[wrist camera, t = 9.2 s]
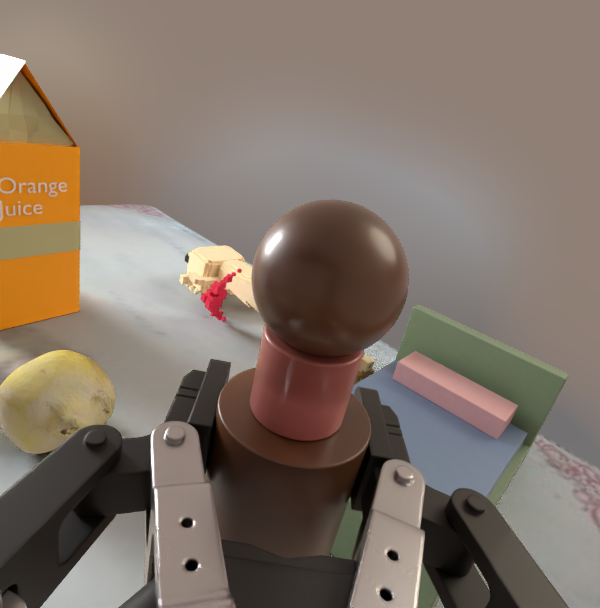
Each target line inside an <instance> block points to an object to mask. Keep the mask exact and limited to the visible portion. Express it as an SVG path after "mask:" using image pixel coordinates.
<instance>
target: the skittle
mask: <svg viewBox="0 0 600 608" xmlns="http://www.w3.org/2000/svg"><path fill="white" fill-rule="evenodd" d="M251 280H252V291H253V297H254V300H255V303H256V306H257V309H258V311H259V313H260V315H261V317H262V319H263V321H264V322H265V324H266V325H265V327H264V331H263V336H262V340H261V345H260V350H259V355H258V360H257V365H256V368H252V369H249V370H246V371H243V372H241V373H239V374H237V375H236V376H234V377H233V378H232V379H230V380H229V381H228V382H227V383H226V385H225V386H224V387H223V389H222V390H221V392H220V394H219V398H218V403H217V409H216V416H215V422H214V428H213V434H212V440H211V447H210V453H209V459H208V465H207V470H206V475H205V480H206V482H207V481H210V483H211V486H212V491H213V497H214V502H215V508H216V514H217V520H218V526H219V532H220V538H221V539H222V540H229V541H235V542H241V543H248V544H251V545H254V546H256V547H259V548H261V549H263V550H266V551H268V552H271V553H273V554H276V555H278V556H280V557H283V558H296V557H307V556H317V555H324V556H329V555H330V552H331V550H332V547H333V544H334V541H335V538H336V535H337V533H338V530H339V527H340V524H341V521H342V518H343V515H344V513H345V510H346V507H347V504H348V501H349V498H350V496H351V493H352V490H353V487H354V484H355V481H356V478H357V476H358V473H359V470H360V467H361V464H362V461H363V459H364V456H365V453H366V450H367V447H368V444H369V441H370V438H371V423H370V419H369V416H368V414H367V411H366V410H365V408H364V406H363V405H362V404H361V402H360V401H359V400H358V399H357V398H356V397H355V396H354V395H353V394H352V393H351V392H352V389H353V386H354V383H355V380H356V376H357V373H358V370H359V367H360V364H361V360H362V357H363V354H364V349H366V348H368V347H369V346H371V345H372V344H374V343H375V342H377V341H378V340H380V339H381V338H382V337H383V336H384V335H385V334H386V333H387V332H388V331H389V330H390V329H391V327H392V326H393V325H394V324H395V322H396V320H397V319H398V317H399V315H400V313H401V311H402V309H403V307H404V304H405V301H406V297H407V293H408V285H409V269H408V263H407V259H406V256H405V252H404V249H403V247H402V245H401V243H400V241H399V239H398V237H397V236H396V235H395V233H394V231H393V230H392V229H391V228H390V226H389V225H388V224H387V223H386V222H385V221H384V220H383V219H381V218H380V217H379V216H378V215H376V214H375V213H374V212H372V211H370V210H369V209H367V208H365V207H363V206H360V205H358V204H355V203H352V202H347V201H342V200H319V201H314V202H309V203H306V204H304V205H301V206H298V207H296V208H294V209H292V210H291V211H289V212H287V213H286V214H284V215H283V216H282V217H280V218H279V219H278V220H277V221H276V222H275V223H274V224H273V225H272V226H271V227H270V229H269V230H268V231H267V233H266V234H265V235H264V237H263V239H262V240H261V242H260V244H259V246H258V248H257V251H256V254H255V257H254V261H253V265H252V274H251Z"/></svg>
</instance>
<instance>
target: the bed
mask: <svg viewBox="0 0 600 608" xmlns="http://www.w3.org/2000/svg"><path fill="white" fill-rule="evenodd" d="M568 376H569V374H568V373H565V372H563V371H561V370H559V369H557V368H554V367H553V366H550V365H548V364H546V363H544V362H542V361H540V360H538V359H535V358H533V357H531V356H529V355H527V354H525V353H522V352H520V351H518V350H516V349H514V348H512V347H510V346H507V345H505V344H503V343H501V342H499V341H497V340H495V339H492V338H490V337H488V336H486V335H484V334H482V333H480V332H477V331H475V330H473V329H471V328H469V327H467V326H464V325H462V324H460V323H458V322H456V321H454V320H452V319H449V318H447V317H445V316H443V315H441V314H439V313H437V312H434V311H432V310H430V309H428V308H426V307H424V306H422V305H418V306H415V307H413V310H412V313H411V316H410V319H409V322H408V325H407V327H406V331H405V333H404V336H403V339H402V342H401V345H400V348H399V351H398V354H397V357H396V360H395V361H394V362H392V363H390V364H389V365H387V366H385V367H383V368H382V369H380V370H378V371H377V372H375V373H373V374H372V375H370V376H368V377H367V378H365V379H363V380H362V381H360V382H358V383H357V384H355V385H354V386H353V389H352V392H351V393H352V394H353V395H354V392H355V389H356V387H358V386H359V387H364V388H369V389H375V390H377V391H378V393H379V397H380V402H381V405H387V406H390V407H391V409H392V410H393V411H394V412H395V414H396V415H397V416H398V420H399V424H400V428H401V431H402V434H403V435H402V437H403V438H404V441H405V445H406V448H407V452H408V455H409V459H410V463H411V464H412V465H413V466H415V467H416V468H417V469H418V470H419V471H420V472H421V473H422V475H423V476H424V479H425V484H426V485H428V486H429V487H431V488H433V489H435V490H438V491H440V492H442V493H445V494H447V495H449V496H451V495H452V493H453V492H454V491H455V490H456V489H458V488H468V489H472V490H475V491H477V492H479V493H481V494H482V495H484V496H485V497H486V498H487V499H489V500H490V501H491V503H492V504H493V505H494V506H496V505H497V503H498V501H499V500H500V498H501V496H502V495H503V493H504V492H505V490H506V488H507V487H508V485H509V483H510V482H511V480H512V478H513V477H514V475H515V473H516V472H517V470H518V468H519V467H520V465H521V463H522V462H523V460H524V458H525V457H526V455H527V453H528V451H529V449H530V447H531V445H532V444H533V442H534V440H535V438H536V436H537V434H538V432H539V430H540V429H541V427H542V425H543V423H544V421H545V419H546V417H547V416H548V414H549V411H550V410H551V408H552V406H553V404H554V402H555V401H556V399H557V397H558V395H559V393H560V391H561V389H562V388H563V386H564V384H565V382H566V380H567V378H568ZM362 519H363V514H362V511H356V510H352V509H351V499H350V498H349V501H348V504H347V507H346V510H345V513H344V515H343V518H342V521H341V524H340V527H339V530H338V533H337V535H336V538H335V541H334V544H333V547H332V550H331V552H330V553H331V554H332V555H333V556H334V557H337V558H343V559H350V560H351V556H352V553H353V549H354V545H355V542H356V538H357V534H358V530H359V527H360V524H361V522H362ZM439 599H440V597H439V595H438V593H437V591H436V589H435V587H434V585H433V583H432V581H431V579H430V577H429V575H428V573H427V571H426V569H425V567H424V565H423V561H422V569H421V579H420V589H419V598H418V608H434V607H435V605H436V604H437V602H438V600H439Z"/></svg>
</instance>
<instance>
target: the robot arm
mask: <svg viewBox="0 0 600 608" xmlns="http://www.w3.org/2000/svg"><path fill="white" fill-rule="evenodd" d="M230 366H231V362H226V361H220V360H215V359H211V360H210V362H209V365H208V368H207V371H206V372H203V371H198V370H192V371H191V372H190V373H188V374H187V375H186V376H184V378H183V380H182V382H181V385H180V388H179V389H178V391H177V394H176V396H175V398H174V401H173V403H172V405H171V407H170V410H169V412H168V414H167V416H166V419H165V421H164V423H162V424H160V425H159V426H157V427H156V428H155V429H154V430H153V432H152V434H150V435H147V436H144V437H138V438H126V439H122V436H121V434H120V432H119V431H118V430H117V429H115V428H113V427H111V426H107V425H91V426H87V427H84V428H82V429H80V430H78V431H77V432H75V433H74V434H73V435H72V436H70V437H69V438H68V439H67V440H66V441H65V442H63V443H62V444H61V445H60V446H59V447H57V448H56V449H55V450H54V451H53V452H51V453H50V454H49V455H48V456H47V457H46V458H44V459H43V460H42V461H41V462H40V463H38V464H37V465H36V466H35V467H34V468H32V469H31V470H30V471H29V472H28V473H27V474H25V475H24V476H23V477H22V478H21V479H19V480H18V481H17V482H16V483H15V484H13V485H12V486H11V487H10V488H9V489H8V490H6V491H5V492H4V493H3V494H2V495H0V608H40V607H41V606H42V605H43V603H44V602H45V601H46V600H47V598H48V597H49V596H50V595H51V594H52V592H53V591H54V590H55V589H56V588H57V586H58V585H59V584H60V583H61V582H62V580H63V579H64V578H65V577H66V576H67V574H68V573H69V572H70V571H71V569H72V568H73V567H74V566H75V565H76V563H77V562H78V561H79V560H80V559H81V557H82V556H83V555H84V554H85V553H86V551H87V550H88V549H89V548H90V547H91V545H92V544H93V543H94V542H95V540H96V539H97V538H98V537H99V536H100V534H101V533H102V532H103V531H104V530H105V528H106V527H107V526H108V525H109V524H110V522H111V521H112V520H113V519H114V517H115V516H116V514H122V513H130V512H138V511H145V576H144V587H143V588H142V589H141V590H139V591H138V592H137V593H136V594H134V595H133V596H132V597H131V598H130V599H128V600H127V601H126V602H125V603H124V604H122V605H121V606H120V607H119V608H418V598H419V589H420V579H421V569H422V561H423V565H424V567H425V569H426V571H427V573H428V575H429V577H430V579H431V581H432V583H433V585H434V587H435V589H436V591H437V593H438V595H439V597H440V599H441V601H442V603H443V605H444V607H445V608H569V607H568V606H567V605H566V603H565V602H564V600H563V599H562V598H561V596H560V595H559V594H558V592H557V591H556V590H555V588H554V587H553V585H552V584H551V583H550V581H549V580H548V579H547V577H546V576H545V575H544V573H543V572H542V570H541V569H540V568H539V566H538V565H537V564H536V562H535V561H534V560H533V558H532V557H531V555H530V554H529V553H528V551H527V550H526V549H525V547H524V546H523V545H522V543H521V542H520V540H519V539H518V538H517V536H516V535H515V534H514V532H513V531H512V530H511V528H510V527H509V525H508V524H507V523H506V521H505V520H504V519H503V517H502V516H501V515H500V513H499V512H498V510H497V509H496V508H495V506H494V505H493V504H492V503H491V501H490V500H489V499H487V498H486V497H485V496H484V495H482V494H481V493H479V492H477V491H475V490H472V489H468V488H458V489H456V490H455V491H454V492H453V493H452V495H451V496H449V495H447V494H445V493H442V492H440V491H438V490H435V489H433V488H431V487H429V486H428V485H426V484H425V479H424V476H423V475H422V473H421V472H420V471H419V470H418V469H417V468H416V467H415V466H413V465H412V464H411V463H410V459H409V455H408V452H407V448H406V445H405V441H404V438H403V437H402V435H403V434H402V431H401V428H400V424H399V420H398V416H397V415H396V414H395V412H394V411H393V410H392V409H391V407H390V406H387V405H381V402H380V397H379V393H378V391H377V390H375V389H369V388H364V387H359V386H358V387H356V389H355V392H354V396H355V397H356V398H357V399H358V400H359V401H360V402H361V404H362V405H363V406H364V408H365V410H366V411H367V414H368V416H369V419H370V423H371V438H370V441H369V444H368V447H367V450H366V453H365V456H364V459H363V461H362V464H361V467H360V470H359V473H358V476H357V478H356V481H355V484H354V487H353V490H352V493H351V496H350V499H351V509H352V510H356V511H362V514H363V519H362V522H361V524H360V527H359V530H358V534H357V538H356V542H355V545H354V549H353V553H352V556H351V560H350V559H343V558H337V557H331V556H324V555H317V556H307V557H296V558H283V557H280V556H278V555H276V554H273V553H271V552H268V551H266V550H263V549H261V548H259V547H256V546H254V545H251V544H248V543H241V542H235V541H229V540H222V539H221V538H220V532H219V526H218V520H217V514H216V508H215V502H214V497H213V491H212V486H211V483H210V481H207V482H206V480H205V474H206V470H207V465H208V459H209V453H210V447H211V440H212V434H213V428H214V422H215V416H216V409H217V403H218V398H219V394H220V392H221V390H222V389H223V387H224V386H225V385H226V383H227V382H228V377H229V372H230ZM474 563H476V565H477V566H478V568H479V570H480V571H481V573H482V575H483V576H484V578H485V579H486V581H487V583H488V586H489V589H488V588H487V586H486V584H485V583H484V581H483V579H482V578H481V576H480V575H479V573H478V571H477V570H476V568H475V566H474ZM489 590H490V591H489Z"/></svg>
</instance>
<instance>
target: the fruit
mask: <svg viewBox="0 0 600 608" xmlns="http://www.w3.org/2000/svg"><path fill="white" fill-rule="evenodd" d="M114 403H115V391H114V388H113V385H112V383H111V381H110V379H109V377H108V376H107V375H106V374H105V373H104V372H103V370H102V369H101V368H100V367H99V366H98V365H97V364H96V363H95V362H94V361H93V360H91V359H90V358H88V357H86V356H84V355H82V354H79V353H76V352H72V351H69V350H58V351H52V352H48V353H46V354H44V355H42V356H40V357H38V358H36V359H34V360H32V361H30V362H28V363H26V364H24V365H22V366H21V367H19V368H18V369H16V370H15V371H14V372H12V373H11V374H10V375H9V376H8V377H7V378H6V380H5V381H4V382H3V383H2V384H1V386H0V425H1V428H2V430H3V431H4V433H5V435H6V436H7V438H8V439H9V440H10V441H11V442H12V443H13V444H14V445H15V446H17V447H18V448H19V449H21V450H23V451H25V452H27V453H31V454H41V453H46V452H50V451H53V450H55V449H56V448H57V447H59V446H60V445H61V444H62V443H63V442H65V441H66V440H67V439H68V438H69V437H70V436H72V435H73V434H74V433H75V432H77V431H78V430H80V429H82V428H84V427H87V426H91V425H103V424H104V423H105V422H106V421H107V420H108V419H109V418H110V416H111V415H112V412H113V409H114Z"/></svg>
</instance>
